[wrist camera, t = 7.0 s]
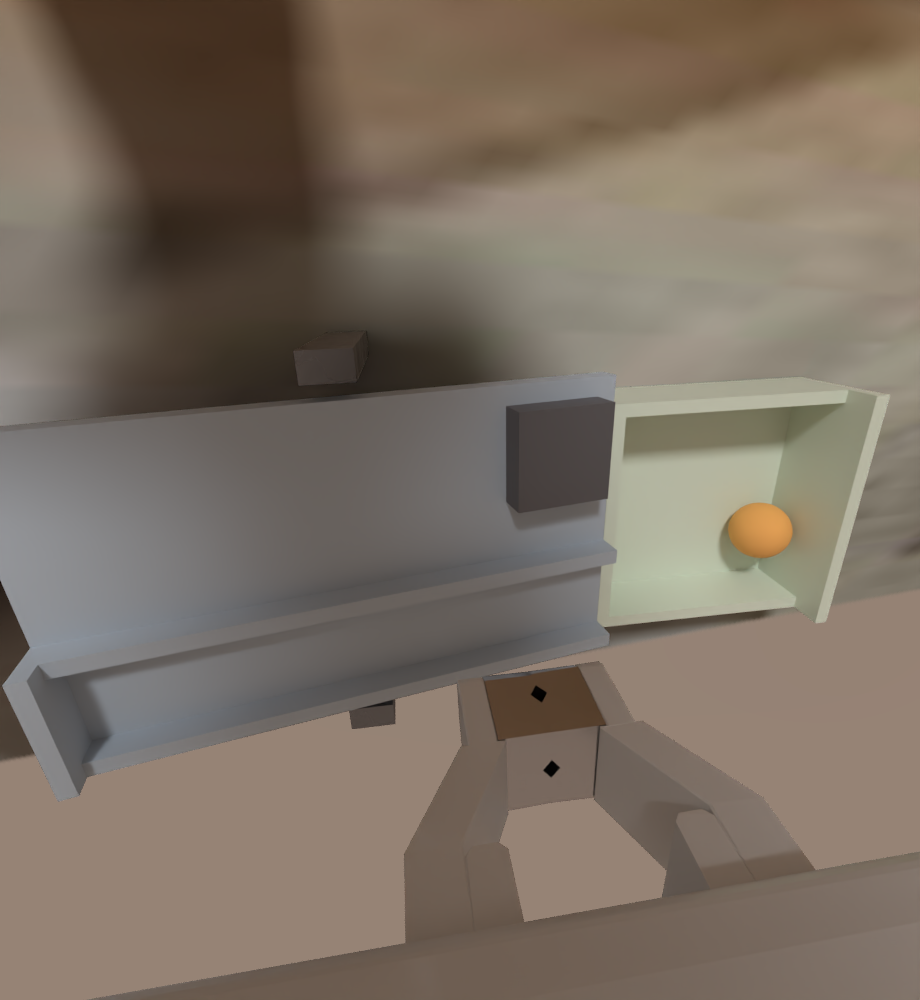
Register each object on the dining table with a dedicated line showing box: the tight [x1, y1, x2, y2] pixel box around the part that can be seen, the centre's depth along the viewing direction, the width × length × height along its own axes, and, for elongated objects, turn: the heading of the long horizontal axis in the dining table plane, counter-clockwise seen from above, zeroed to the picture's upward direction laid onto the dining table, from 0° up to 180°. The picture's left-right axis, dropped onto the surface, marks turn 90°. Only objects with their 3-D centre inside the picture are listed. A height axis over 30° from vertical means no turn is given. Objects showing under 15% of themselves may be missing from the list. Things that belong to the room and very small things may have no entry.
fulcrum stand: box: [293, 331, 395, 729], centre depth 30 cm, size 20×4×11 cm, turn 2°
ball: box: [728, 503, 793, 558], centre depth 37 cm, size 4×4×4 cm
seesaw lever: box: [0, 372, 617, 801], centre depth 24 cm, size 16×28×4 cm, turn 92°
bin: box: [597, 377, 890, 627], centre depth 34 cm, size 16×16×7 cm
